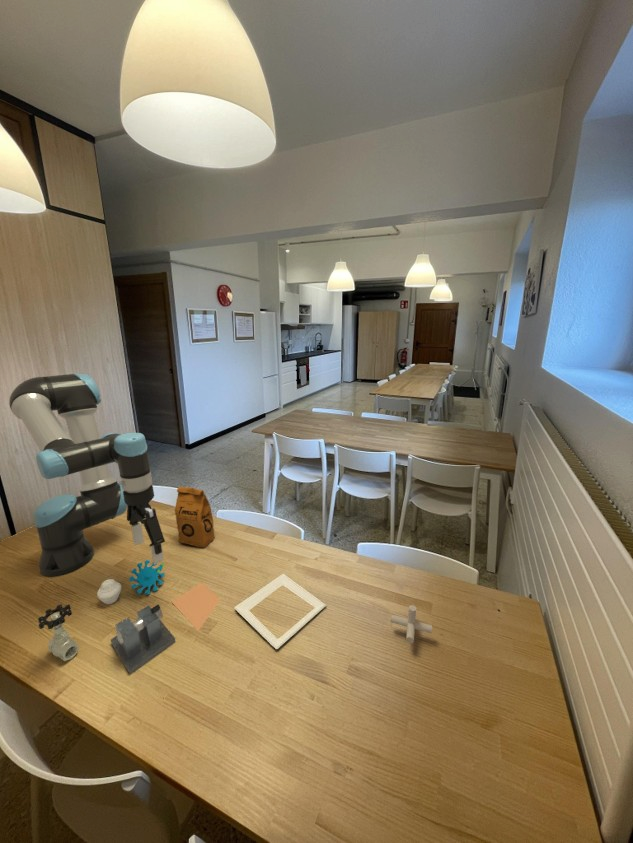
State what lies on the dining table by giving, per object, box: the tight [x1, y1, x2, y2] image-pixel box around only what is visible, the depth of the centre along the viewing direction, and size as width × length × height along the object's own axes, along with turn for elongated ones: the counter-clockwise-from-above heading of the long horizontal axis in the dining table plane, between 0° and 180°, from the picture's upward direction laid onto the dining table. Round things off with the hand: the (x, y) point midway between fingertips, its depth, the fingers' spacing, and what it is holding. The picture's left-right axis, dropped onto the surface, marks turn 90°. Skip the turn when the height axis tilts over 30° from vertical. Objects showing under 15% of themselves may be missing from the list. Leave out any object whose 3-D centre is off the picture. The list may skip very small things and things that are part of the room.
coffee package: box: [174, 486, 215, 548], centre depth 123 cm, size 10×12×22 cm
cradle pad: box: [171, 582, 221, 632], centre depth 96 cm, size 15×10×1 cm, turn 49°
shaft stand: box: [110, 604, 176, 675], centre depth 83 cm, size 12×11×8 cm
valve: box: [37, 604, 80, 662], centre depth 80 cm, size 7×7×12 cm
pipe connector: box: [390, 604, 433, 644], centre depth 84 cm, size 10×10×10 cm
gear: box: [128, 559, 165, 596], centre depth 103 cm, size 11×6×10 cm
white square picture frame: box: [234, 573, 327, 650], centre depth 94 cm, size 19×19×2 cm
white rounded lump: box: [96, 578, 122, 605], centre depth 97 cm, size 6×6×7 cm
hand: (148, 552), depth 99 cm, fingers open, 13 cm apart
